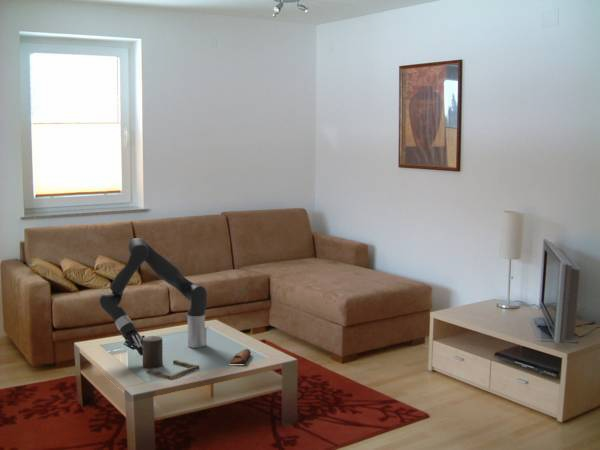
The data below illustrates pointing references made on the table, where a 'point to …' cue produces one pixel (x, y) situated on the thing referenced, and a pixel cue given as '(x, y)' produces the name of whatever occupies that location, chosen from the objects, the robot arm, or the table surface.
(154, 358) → the pillar candle
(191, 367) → the wooden u-shaped frame
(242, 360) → the sunglasses case
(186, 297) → the robot arm
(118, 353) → the table surface
